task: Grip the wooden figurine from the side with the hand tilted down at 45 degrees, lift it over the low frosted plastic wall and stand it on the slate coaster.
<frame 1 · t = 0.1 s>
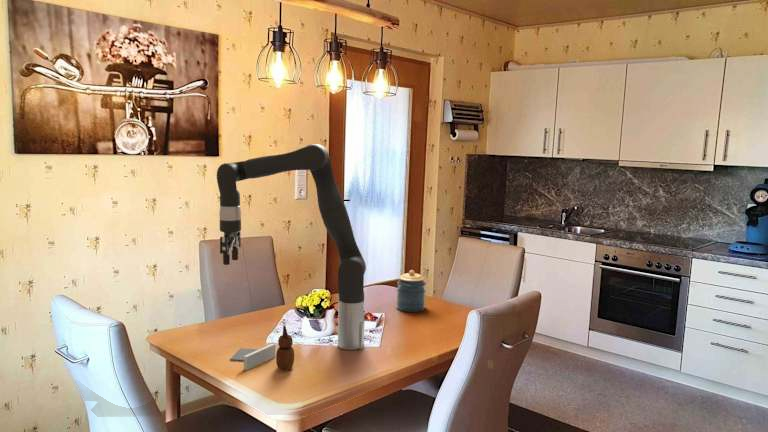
hand: (230, 262, 205), 29 cm above the table, tool pointing down, fingers open, 8 cm apart
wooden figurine: (285, 369, 184), on the table
frosted wall: (260, 362, 188), on the table
slate coaster: (249, 355, 194), on the table
canister: (410, 308, 255), on the table
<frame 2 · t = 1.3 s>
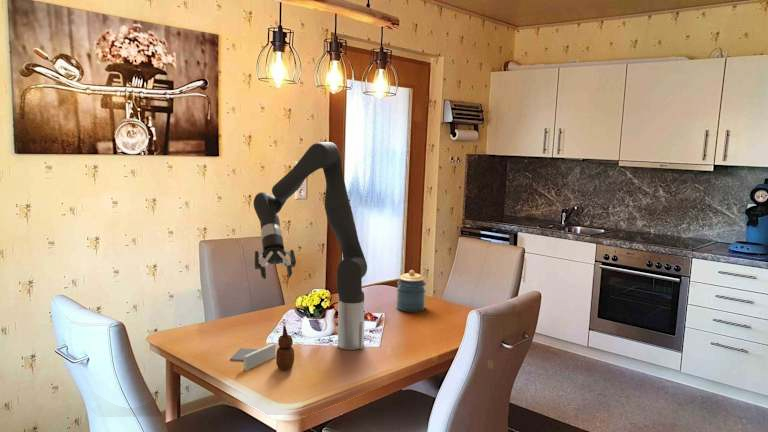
hand: (277, 277, 195), 27 cm above the table, tool tilted 45°, fingers open, 8 cm apart
nothing on the table moved.
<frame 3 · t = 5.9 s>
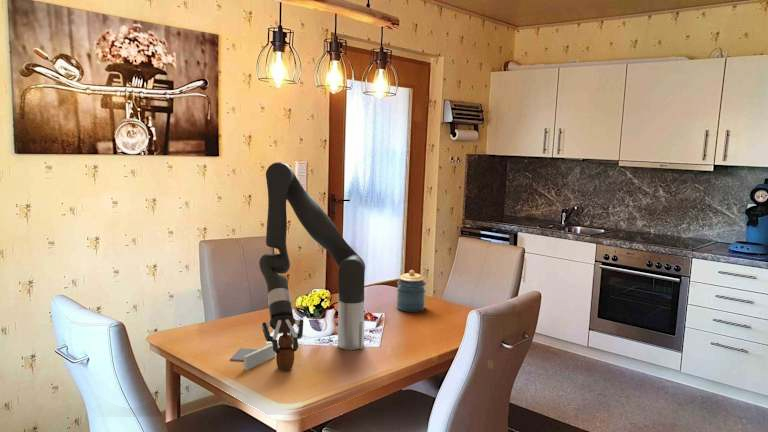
hand: (286, 351, 181), 7 cm above the table, tool tilted 45°, fingers closed on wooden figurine, 5 cm apart
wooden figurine: (285, 369, 184), on the table, touching gripper
everything else where it was.
when the fingers open (8 cm above the table, at t = 11.9 s): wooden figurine stays where it is, resting on slate coaster.
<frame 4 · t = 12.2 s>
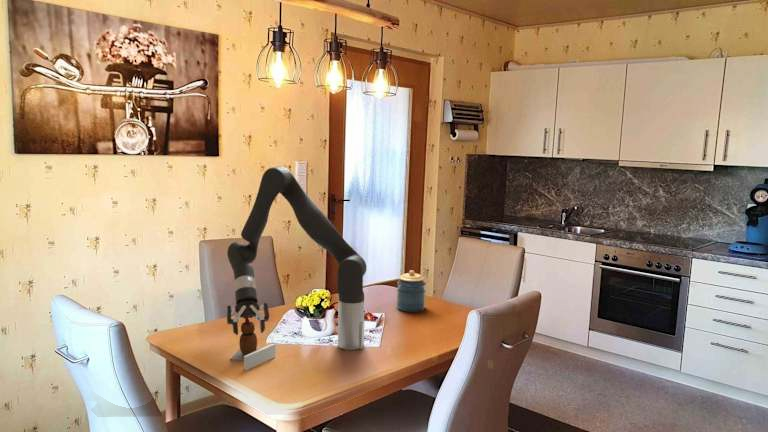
hand: (249, 332, 191), 9 cm above the table, tool tilted 45°, fingers open, 8 cm apart
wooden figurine: (248, 354, 194), resting on slate coaster
everything else where it was.
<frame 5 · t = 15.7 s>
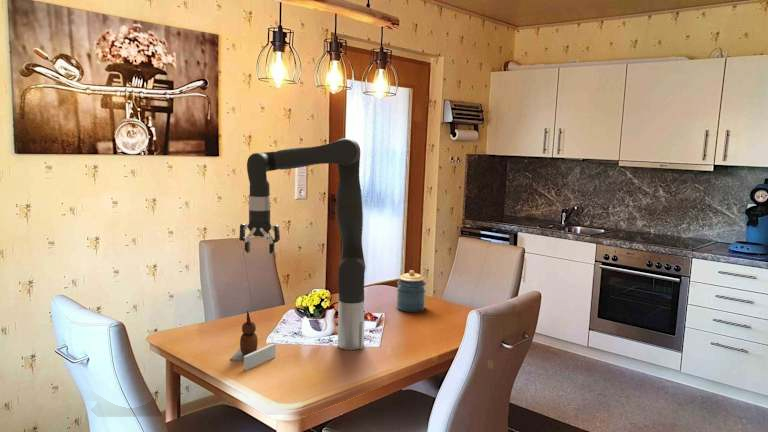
hand: (259, 252, 204), 33 cm above the table, tool pointing down, fingers open, 8 cm apart
nothing on the table moved.
at the end: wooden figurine 0.2 cm from the slate coaster (horizontally); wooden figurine tilted 0°; the gripper is holding nothing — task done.
